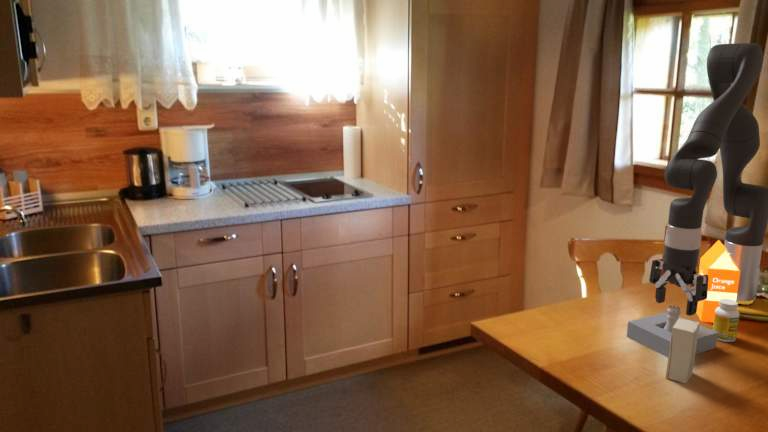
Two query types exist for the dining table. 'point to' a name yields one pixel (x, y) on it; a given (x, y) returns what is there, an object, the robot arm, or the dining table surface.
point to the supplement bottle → (726, 320)
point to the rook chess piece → (672, 317)
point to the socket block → (665, 334)
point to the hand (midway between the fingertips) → (674, 308)
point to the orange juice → (717, 280)
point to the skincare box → (682, 350)
